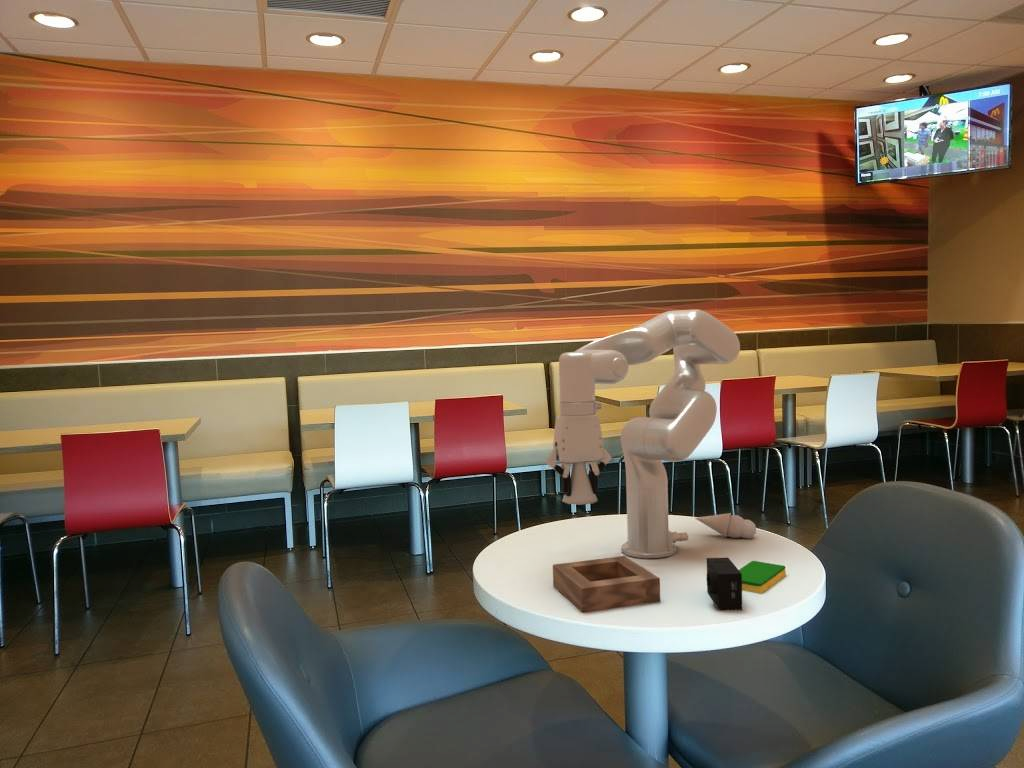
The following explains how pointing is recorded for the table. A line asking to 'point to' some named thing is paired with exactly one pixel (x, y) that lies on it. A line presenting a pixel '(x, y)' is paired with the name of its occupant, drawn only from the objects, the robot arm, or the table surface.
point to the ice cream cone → (730, 525)
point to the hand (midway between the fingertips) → (579, 493)
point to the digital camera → (724, 584)
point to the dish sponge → (760, 576)
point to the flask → (580, 486)
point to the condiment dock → (606, 583)
